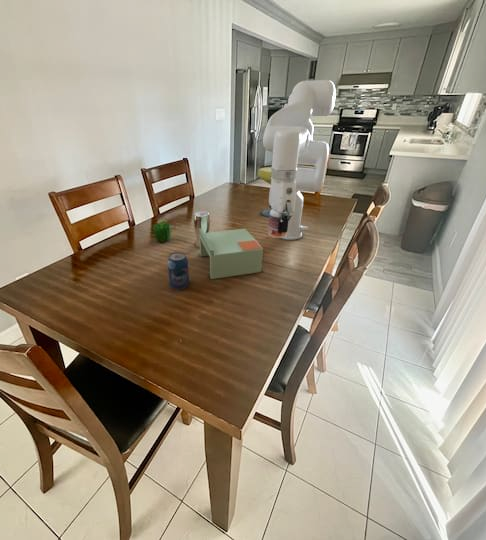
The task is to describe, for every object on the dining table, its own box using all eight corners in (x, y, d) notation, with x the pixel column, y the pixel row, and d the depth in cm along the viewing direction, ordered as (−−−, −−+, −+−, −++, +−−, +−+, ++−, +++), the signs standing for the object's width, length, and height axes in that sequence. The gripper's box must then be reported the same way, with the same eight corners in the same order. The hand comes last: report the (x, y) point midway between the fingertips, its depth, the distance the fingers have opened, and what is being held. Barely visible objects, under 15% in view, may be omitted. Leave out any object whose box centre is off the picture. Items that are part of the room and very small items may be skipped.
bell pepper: (150, 242, 137) (147, 221, 132) (161, 235, 144) (158, 216, 139) (164, 245, 134) (162, 225, 129) (175, 238, 140) (173, 219, 135)
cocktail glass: (291, 211, 172) (297, 167, 159) (279, 221, 158) (285, 174, 146) (263, 206, 180) (266, 163, 167) (249, 215, 167) (252, 169, 154)
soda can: (174, 292, 102) (171, 262, 96) (167, 283, 107) (164, 254, 101) (192, 287, 105) (190, 258, 99) (184, 278, 110) (182, 249, 104)
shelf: (244, 249, 130) (245, 224, 124) (261, 271, 114) (263, 243, 108) (200, 254, 126) (199, 229, 120) (211, 279, 109) (210, 250, 103)
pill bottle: (284, 239, 98) (288, 207, 92) (266, 237, 99) (268, 204, 94) (287, 232, 102) (291, 201, 97) (270, 230, 104) (272, 199, 98)
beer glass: (208, 249, 131) (207, 217, 123) (193, 247, 132) (191, 216, 124) (211, 242, 137) (211, 211, 129) (197, 241, 138) (195, 210, 130)
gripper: (309, 180, 84) (300, 237, 93) (282, 167, 98) (276, 218, 108) (285, 182, 82) (278, 240, 92) (261, 168, 97) (257, 220, 106)
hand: (277, 227), depth 100 cm, fingers closed on pill bottle, 6 cm apart
